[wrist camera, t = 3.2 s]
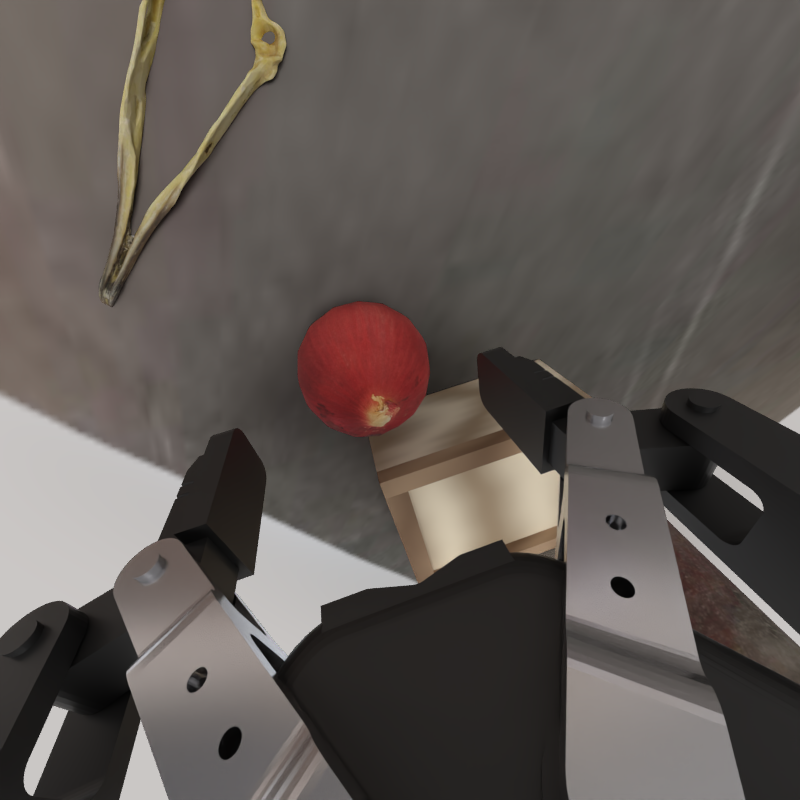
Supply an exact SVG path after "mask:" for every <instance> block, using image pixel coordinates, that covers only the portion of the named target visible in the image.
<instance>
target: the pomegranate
mask: <svg viewBox="0 0 800 800" xmlns="http://www.w3.org/2000/svg"><path fill="white" fill-rule="evenodd" d="M429 375H430V366H429V359H428V353H427V347H426V343H425V341H424V339H423V337H422V336H421V334H420V333H419V332H418V330H417V329H416V328H415V326H414V325H413V324H412V322H411V321H410V320H409V319H408V318H407V317H405V316H404V315H403V314H401V313H399V312H397V311H395V310H393V309H391V308H390V307H388V306H386V305H384V304H381V303H371V302H361V301H357V302H353V303H349V304H345V305H341V306H338V307H334V308H332V309H331V310H330V311H328V312H327V313H326V314H324V315H323V316H322V317H320V318H319V319H318V320H316V321H315V322H314V323H313V324H312V325H311V326H310V327H309V329H308V331H307V333H306V335H305V337H304V340H303V342H302V344H301V346H300V348H299V350H298V381H299V385H300V388H301V390H302V393H303V395H304V398H305V401H306V403H307V405H308V407H309V408H310V409H311V410H312V411H313V412H314V413H315V414H316V415H317V416H318V417H319V418H320V419H321V420H322V421H323V422H324V423H325V424H326V425H327V426H328V427H330V428H332V429H334V430H337V431H340V432H343V433H346V434H348V435H351V436H354V437H365V436H380V435H382V434H384V433H386V432H388V431H390V430H392V429H394V428H397V427H399V426H400V425H401V424H402V423H404V422H405V421H406V420H407V419H409V418H410V417H411V416H413V415H414V413H415V412H416V410H417V409H418V407H419V405H420V404H421V402H422V401H423V399H424V397H425V395H426V392H427V386H428V380H429Z"/></svg>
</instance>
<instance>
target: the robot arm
mask: <svg viewBox="0 0 800 800" xmlns="http://www.w3.org/2000/svg"><path fill="white" fill-rule="evenodd" d="M477 365H478V379H479V392H480V397H481V400H482V403H483V405H484V407H485V408H486V410H487V411H488V412H489V413H490V414H491V416H492V417H493V418H494V419H495V420H496V421H497V423H498V424H499V425H500V426H501V427H502V429H503V430H504V431H505V432H506V433H507V435H508V436H509V437H510V438H511V439H512V440H513V442H514V443H515V444H516V445H517V446H518V448H519V449H520V450H521V451H522V452H523V454H524V455H525V456H526V457H527V458H528V459H529V461H530V462H531V463H532V464H533V465H534V467H535V468H536V469H537V470H538V471H539V473H540V474H544V473H547V472H550V471H552V470H556V471H557V473H558V474H559V475H560V478H559V494H558V516H557V537H556V549H555V559H554V558H551V557H547V556H543V555H540V554H533V553H524V552H511V553H510V552H509V550H508V549H507V547H506V545H505V543H504V542H503V540H499V541H496V542H493V543H491V544H488V545H485V546H483V547H480V548H477V549H474V550H472V551H469V552H466V553H464V554H461V555H459V556H457V557H456V558H455V559H453V560H452V561H450V562H449V563H447V564H446V565H445V566H443V567H442V568H440V569H439V570H438V571H436V572H435V573H433V574H432V575H431V576H429V577H428V578H426V579H425V580H424V581H422V582H420V583H419V584H416V585H409V586H397V587H385V588H373V589H366V590H363V591H360V592H358V593H355V594H352V595H350V596H347V597H344V598H341V599H339V600H336V601H333V602H330V603H328V604H325V605H322V606H321V622H322V623H321V624H320V625H318V626H317V627H316V628H315V629H313V630H312V631H311V632H310V633H309V634H308V635H307V636H305V637H304V639H303V640H302V641H301V642H300V643H299V644H298V645H297V646H296V647H295V648H294V650H293V651H292V652H291V653H290V655H289V656H287V654H286V653H285V652H284V651H283V650H282V649H281V648H280V647H279V646H278V645H277V644H276V642H275V641H274V640H273V639H272V637H271V636H270V635H269V634H268V632H267V631H266V630H265V629H264V627H263V626H262V625H261V623H260V622H259V621H258V620H257V619H256V617H255V616H254V615H253V613H252V612H251V611H250V609H249V608H248V607H247V606H246V605H245V603H244V602H243V601H242V599H241V598H240V597H239V596H238V595H237V594H236V593H235V589H236V582H237V580H240V579H243V578H245V577H248V576H251V575H254V569H255V562H256V554H257V547H258V539H259V532H260V524H261V517H262V509H263V501H264V494H265V486H266V472H265V468H264V465H263V463H262V461H261V460H260V458H259V456H258V455H257V453H256V452H255V450H254V449H253V447H252V446H251V444H250V442H249V441H248V439H247V438H246V436H245V435H244V433H243V432H242V431H241V430H240V429H238V428H236V429H232V430H229V431H226V432H223V433H220V434H216V435H213V436H212V437H211V438H210V440H209V443H208V445H207V448H206V451H205V453H204V455H202V456H199V457H198V459H197V460H196V461H195V462H194V463H193V465H192V466H191V467H190V468H189V469H188V471H187V473H186V475H185V478H184V480H183V482H182V487H180V489H179V492H178V494H177V499H175V501H174V504H173V506H172V509H171V511H170V513H169V516H168V518H167V521H166V523H165V525H164V528H163V530H162V532H161V535H160V537H159V539H158V541H157V542H155V543H153V544H151V545H149V546H147V547H146V548H144V549H143V550H142V551H140V552H139V553H138V554H137V555H135V556H134V557H133V558H132V559H131V560H130V561H129V562H128V563H127V565H126V566H125V567H124V568H123V570H122V571H121V572H120V574H119V576H118V578H117V579H116V582H115V585H114V588H113V589H111V590H109V591H107V592H106V593H104V594H103V595H101V596H99V597H97V598H96V599H94V600H93V601H91V602H89V603H87V604H86V605H84V606H82V607H81V608H79V609H76V608H74V607H73V606H71V605H69V604H67V603H65V602H63V601H55V602H51V603H48V604H45V605H43V606H41V607H39V608H37V609H35V610H33V611H32V612H30V613H29V614H27V615H26V616H25V617H23V618H22V619H21V620H19V621H18V622H17V623H16V624H14V625H13V626H12V627H11V628H10V629H9V630H8V631H7V632H6V633H5V634H4V635H3V636H2V637H1V638H0V800H119V798H120V794H121V791H122V787H123V783H124V780H125V775H126V772H127V768H128V765H129V761H130V757H131V753H132V750H133V746H134V742H135V738H136V735H137V731H138V727H139V724H140V720H141V722H142V724H143V727H144V730H145V733H146V736H147V739H148V741H149V744H150V747H151V750H152V753H153V756H154V759H155V761H156V765H157V767H158V770H159V773H160V776H161V779H162V782H163V784H164V787H165V790H166V793H167V796H168V799H169V800H800V684H798V683H796V682H794V681H792V680H790V679H788V678H786V677H784V676H782V675H780V674H779V673H777V672H775V671H773V670H771V669H769V668H767V667H765V666H763V665H761V664H759V663H757V662H755V661H754V660H752V659H750V658H748V657H746V656H744V655H742V654H740V653H738V652H736V651H734V650H732V649H730V648H729V647H727V646H725V645H723V644H721V643H719V642H717V641H715V640H713V639H711V638H709V637H707V636H705V635H704V634H702V633H700V632H698V631H696V630H694V629H692V626H691V622H690V618H689V613H688V609H687V605H686V600H685V596H684V592H683V587H682V583H681V579H680V575H679V570H678V566H677V562H676V557H675V553H674V549H673V544H672V540H671V536H670V531H669V527H668V523H667V519H666V514H665V510H664V506H665V507H666V508H667V509H668V510H669V511H670V512H671V513H672V514H673V515H674V516H675V517H677V519H678V520H679V521H680V522H681V523H683V524H684V525H685V526H686V527H687V528H688V529H689V530H690V531H691V532H692V533H693V534H694V535H695V536H696V537H697V538H698V539H700V541H702V542H703V543H704V544H705V545H706V546H707V547H708V548H709V549H710V550H711V551H712V552H713V553H714V554H715V555H716V556H717V557H718V558H720V559H721V560H722V561H723V562H724V563H725V564H726V565H727V566H728V567H729V568H730V569H731V570H732V571H733V572H734V573H735V574H736V575H738V577H739V578H741V579H742V580H743V581H744V582H745V583H746V584H747V585H748V586H749V587H750V588H751V589H752V590H753V591H754V592H755V593H757V595H758V596H760V597H761V598H762V599H763V600H764V601H765V602H766V603H767V604H768V605H769V606H770V607H771V608H772V609H773V610H774V611H775V612H776V613H778V614H779V615H780V616H781V617H782V618H783V619H784V620H785V621H786V622H787V623H788V624H789V625H790V626H791V627H792V628H793V629H794V630H795V631H796V632H797V633H799V634H800V434H798V433H796V432H794V431H792V430H790V429H789V428H786V427H785V426H783V425H781V424H779V423H777V422H775V421H773V420H771V419H770V418H768V417H766V416H764V415H762V414H760V413H758V412H756V411H754V410H752V409H750V408H749V407H747V406H745V405H743V404H741V403H739V402H737V401H735V400H733V399H731V398H729V397H727V396H725V395H723V394H720V393H717V392H713V391H709V390H703V389H680V390H676V391H673V392H671V393H669V394H668V395H667V396H666V398H665V401H664V404H663V407H662V408H659V409H647V410H636V411H629V410H628V409H627V408H626V407H625V406H623V405H621V404H620V403H617V402H615V401H612V400H608V399H603V398H586V399H585V398H584V397H583V396H581V395H580V394H579V393H577V392H576V391H575V390H573V389H572V388H570V387H569V386H568V385H566V384H565V383H564V382H562V381H561V380H559V379H558V378H557V377H554V376H553V374H551V373H550V372H549V371H547V370H546V371H545V369H544V368H543V367H542V366H540V365H539V364H538V363H536V362H535V361H533V360H529V359H526V358H523V357H520V356H519V357H514V356H512V355H511V354H510V353H509V352H507V351H506V350H505V349H503V348H502V347H498V348H495V349H492V350H489V351H486V352H482V353H479V354H478V357H477ZM717 465H718V466H720V467H721V468H722V469H724V470H725V471H727V472H728V473H730V474H731V475H732V476H734V477H735V478H737V479H738V480H739V481H741V482H742V483H743V484H745V485H746V486H748V487H749V488H751V489H752V490H753V491H754V492H755V493H756V494H757V495H758V496H759V498H760V499H761V501H762V503H763V507H764V511H761V510H760V509H759V508H757V507H756V506H755V505H753V504H752V503H751V502H749V501H748V500H747V499H745V498H744V497H743V496H741V495H740V494H739V493H737V492H736V491H735V490H733V489H732V488H731V487H729V486H728V485H727V484H725V483H724V482H723V481H721V480H720V479H719V478H717V477H716V476H715V475H713V472H714V470H715V469H716V467H717ZM663 505H664V506H663ZM52 706H56V707H59V708H63V709H66V710H69V711H68V713H67V715H66V718H65V720H64V723H63V725H62V727H61V730H60V732H59V735H58V737H57V739H56V742H55V744H54V747H53V749H52V752H51V754H50V756H49V759H48V761H47V764H46V767H45V768H44V771H43V773H42V776H41V778H40V781H39V783H38V785H37V788H36V790H35V793H34V795H33V796H30V795H29V794H28V793H27V792H26V790H25V788H24V782H23V780H24V771H25V767H26V764H27V762H28V759H29V757H30V755H31V753H32V751H33V748H34V746H35V744H36V742H37V739H38V737H39V735H40V733H41V731H42V728H43V726H44V724H45V721H46V719H47V717H48V715H49V713H50V711H51V708H52Z"/></svg>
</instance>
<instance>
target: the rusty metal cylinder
mask: <svg viewBox="0 0 800 800" xmlns="http://www.w3.org/2000/svg"><path fill="white" fill-rule="evenodd" d="M667 523H668V527H669V531H670V536H671V540H672V544H673V549H674V553H675V557H676V562H677V566H678V570H679V575H680V579H681V583H682V587H683V592H684V596H685V600H686V605H687V609H688V613H689V618H690V622H691V626H692V629H694V630H696V631H698V632H700V633H702V634H704V635H705V636H707V637H709V638H711V639H713V640H715V641H717V642H719V643H721V644H723V645H725V646H727V647H729V648H730V649H732V650H734V651H736V652H738V653H740V654H742V655H744V656H746V657H748V658H750V659H752V660H754V661H755V662H757V663H759V664H761V665H763V666H765V667H767V668H769V669H771V670H773V671H775V672H777V673H779V674H780V675H782V676H784V677H786V678H788V679H790V680H792V681H794V682H796V683H798V684H800V647H799V646H798V645H797V644H796V643H795V642H794V641H793V640H792V639H791V638H790V637H789V636H788V635H787V634H786V633H785V632H783V631H782V630H781V629H780V628H779V627H778V626H777V625H776V624H775V623H774V622H773V621H772V620H771V619H770V618H769V617H767V615H765V613H763V612H762V611H761V610H760V609H759V608H758V607H757V606H756V605H755V604H754V603H753V602H752V601H751V600H750V599H749V598H748V597H747V596H746V595H745V594H744V593H742V592H741V591H740V590H739V589H738V588H737V587H736V586H735V585H734V584H733V583H732V582H731V581H730V580H729V579H728V578H727V577H726V576H725V575H724V574H723V573H722V572H721V571H720V570H718V569H717V568H716V567H715V566H714V565H713V564H712V563H711V562H710V561H709V560H708V559H707V558H706V557H705V556H704V555H703V554H702V553H701V552H699V551H698V550H697V549H696V548H695V547H694V546H693V545H692V544H691V543H690V542H689V541H688V540H687V539H686V538H685V537H684V536H683V535H682V534H681V533H680V532H679V531H678V530H677V529H676V528H675V527H674V526H673V525H672V524H671V523H670V522H669V521H668V520H667Z"/></svg>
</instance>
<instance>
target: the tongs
mask: <svg viewBox="0 0 800 800" xmlns="http://www.w3.org/2000/svg"><path fill="white" fill-rule="evenodd" d="M164 1H165V0H142V2H141V5H140V8H139V15H138V22H137V29H136V36H135V42H134V47H133V52H132V56H131V60H130V64H129V68H128V72H127V76H126V81H125V87H124V92H123V97H122V104H121V109H120V122H119V142H118V154H117V165H118V173H117V177H118V204H117V213H116V221H115V228H114V236H113V240H112V244H111V248H110V252H109V256H108V259H107V262H106V266H105V268H104V272H103V276H102V278H101V280H100V283H99V297H100V300H101V302H102V303H104V304H107V305H108V306H110V307H113V305H114V304H115V301H116V299H117V297H118V295H119V293H120V291H121V288H122V285H123V284H124V282H125V280H126V278H127V276H128V275H129V273H130V271H131V269H132V268H133V266H134V264H135V261H136V259H137V257H138V255H139V254H140V252H141V250H142V249H143V247H144V245H145V243H146V241H147V240H148V238H149V237H150V235H151V234H152V232H153V231H154V229H155V228H156V227H157V225H158V224H159V223H160V221H161V220H162V219H163V218H164V217H165V215H166V214H167V213H168V212H169V210H170V209H171V208H172V207H173V205H174V204H175V203H176V200H177V199H178V197H179V195H180V193H181V190H182V188H183V187H184V185H185V184H186V183H187V182H188V180H189V179H190V178H191V176H192V175H193V174H194V173H195V172H196V170H197V169H198V168H199V167H200V166H201V165H202V163H203V162H204V161H205V160H206V159H207V158H208V156H209V155H210V154H211V153H212V151H213V148H214V147H215V146H216V144H217V143H218V141H219V140H220V138H221V137H222V136H223V134H224V133H225V132H226V130H227V129H228V127H229V126H230V124H231V123H232V121H233V120H234V118H235V117H236V115H237V114H238V112H239V111H240V109H241V108H242V106H243V105H244V104H245V102H246V101H247V100H248V98H249V97H250V96H251V95H252V93H253V92H254V91H255V90H256V89H257V88H258V87H259V86H261V85H262V84H263V83H264V82H266V81H268V80H271V79H273V78H274V76H275V75H276V73H277V68H278V64H279V62H281V61H282V58H283V54H284V51H285V48H286V40H285V33H284V31H283V29H282V28H281V27H280V26H279V25H278V24H277V23H275V22H273V21H271V20H270V19H269V18H268V17H267V14H266V12H265V9H264V7H263V4H262V0H252V13H253V20H252V27H251V44H252V45H253V46H254V48H255V53H256V58H255V62H254V65H253V68H252V69H251V70H250V71H249V72H248V74H247V76H246V78H245V79H244V81H243V82H242V83H241V85H240V86H239V87H238V89H237V90H236V92H235V93H234V95H233V96H232V98H231V100H230V101H229V103H228V105H227V106H226V107H225V109H224V110H223V112H222V114H221V115H220V117H219V118H218V120H217V121H216V122H215V123H214V124H213V126H212V127H211V129H210V130H209V132H208V134H207V136H206V137H205V139H204V141H203V143H202V144H201V146H200V147H199V149H198V152H197V153H196V155H195V156H194V157H193V158H192V159H191V160H190V161H189V163H188V164H187V165H186V166H185V168H184V169H183V170H182V172H181V173H179V174H178V176H177V177H176V178H175V179H174V180H173V181H172V182H171V183H170V184H169V185H168V186H167V187H166V188H165V189H164V190H163V191H162V192H161V193H160V195H159V196H158V197H157V198H156V199H155V200H154V202H153V203H152V204H151V206H150V208H149V209H148V211H147V212H146V214H145V216H144V218H143V220H142V223H141V225H140V227H139V228H138V230H137V232H136V234H135V236H133V235H130V234H131V229H130V223H131V215H132V211H133V201H134V193H135V188H136V183H137V176H138V165H139V156H140V149H141V141H142V131H143V125H144V118H145V106H146V93H145V86H146V81H147V78H148V75H149V71H150V67H151V64H152V60H153V57H154V54H155V48H156V42H157V38H158V33H159V27H160V20H161V15H162V10H163V5H164ZM147 6H148V11H147V14H146V10H147ZM145 15H146V19H145ZM269 31H271V32H273V33H274V35H275V41H274V42H273V43H272V44H267V43H266V42H263V41H262V40H261V38H262V37H263V35H264V34H265V33H266V32H269Z"/></svg>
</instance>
